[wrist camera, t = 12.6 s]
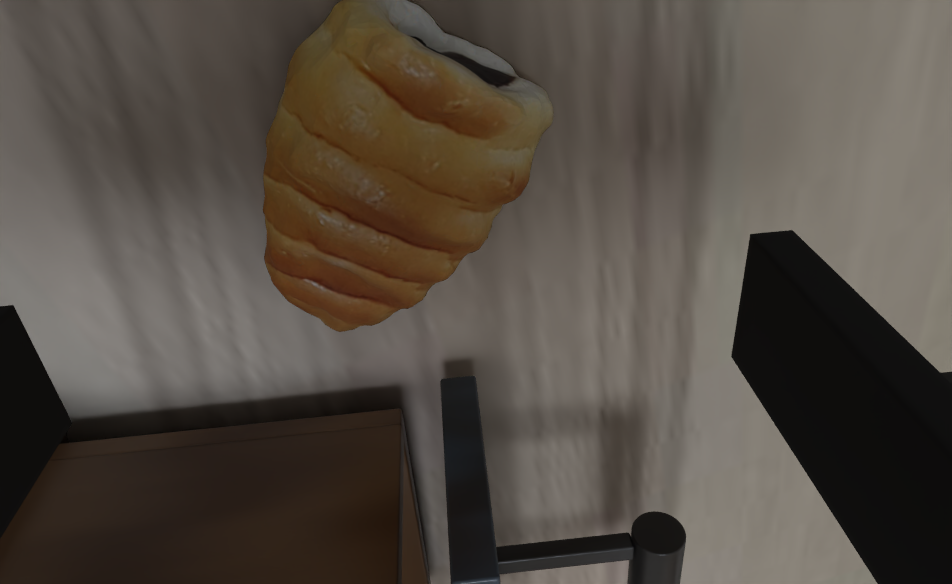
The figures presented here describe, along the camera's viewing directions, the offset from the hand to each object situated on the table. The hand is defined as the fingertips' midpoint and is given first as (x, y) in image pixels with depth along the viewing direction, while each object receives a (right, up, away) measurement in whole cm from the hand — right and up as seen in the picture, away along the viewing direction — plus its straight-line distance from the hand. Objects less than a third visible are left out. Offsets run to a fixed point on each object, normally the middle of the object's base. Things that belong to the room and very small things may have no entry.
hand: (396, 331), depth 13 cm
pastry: (-1, +5, +7) cm, 9 cm away
